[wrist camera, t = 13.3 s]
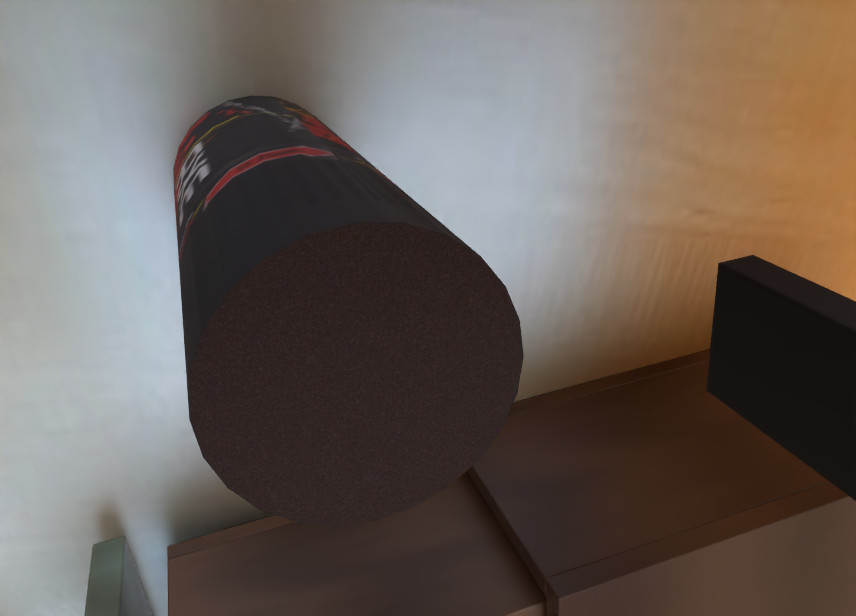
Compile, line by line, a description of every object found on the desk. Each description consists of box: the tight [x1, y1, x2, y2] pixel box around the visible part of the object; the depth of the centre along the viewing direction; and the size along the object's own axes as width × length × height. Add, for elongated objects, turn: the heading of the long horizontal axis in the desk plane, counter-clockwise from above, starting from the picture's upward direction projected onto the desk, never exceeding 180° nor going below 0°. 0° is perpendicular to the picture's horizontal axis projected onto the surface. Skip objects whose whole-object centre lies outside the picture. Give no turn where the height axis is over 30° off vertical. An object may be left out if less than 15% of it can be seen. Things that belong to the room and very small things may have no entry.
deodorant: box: [174, 96, 523, 526], centre depth 19 cm, size 6×6×15 cm
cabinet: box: [467, 350, 856, 616], centre depth 33 cm, size 19×15×11 cm
